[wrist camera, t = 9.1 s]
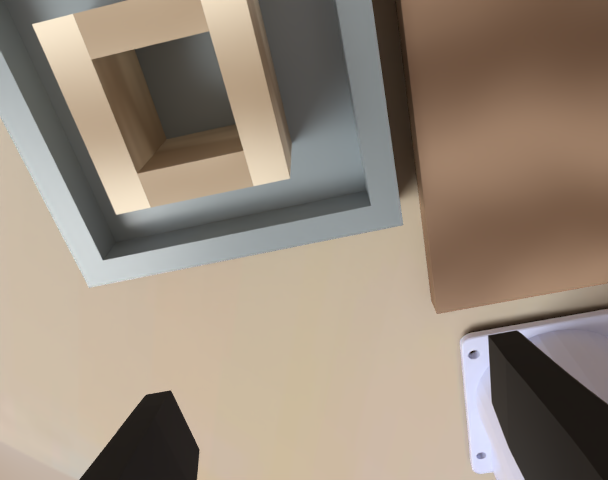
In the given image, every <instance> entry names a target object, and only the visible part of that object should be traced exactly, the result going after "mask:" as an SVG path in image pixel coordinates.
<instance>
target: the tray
mask: <svg viewBox="0 0 608 480" xmlns="http://www.w3.org/2000/svg"><path fill="white" fill-rule="evenodd" d="M122 1H126V0H0V117H1V119H2V121H3V123H4V125H5V127H6V129H7V131H8V133H9V135H10V136H11V138H12V140H13V142H14V144H15V146H16V148H17V150H18V152H19V154H20V156H21V158H22V160H23V161H24V163H25V165H26V167H27V169H28V171H29V173H30V175H31V177H32V179H33V181H34V183H35V185H36V186H37V188H38V190H39V192H40V194H41V196H42V198H43V200H44V202H45V204H46V206H47V208H48V210H49V211H50V213H51V215H52V217H53V219H54V221H55V223H56V225H57V227H58V229H59V231H60V233H61V235H62V237H63V238H64V240H65V242H66V244H67V246H68V248H69V250H70V252H71V254H72V256H73V258H74V260H75V262H76V263H77V265H78V267H79V269H80V271H81V273H82V275H83V277H84V279H85V281H86V283H87V285H88V287H89V288H90V287H95V286H100V285H105V284H110V283H115V282H120V281H125V280H130V279H135V278H140V277H145V276H150V275H155V274H160V273H165V272H170V271H175V270H180V269H186V268H191V267H196V266H201V265H206V264H211V263H216V262H221V261H226V260H231V259H236V258H241V257H246V256H251V255H256V254H261V253H266V252H271V251H276V250H281V249H286V248H291V247H296V246H301V245H306V244H311V243H316V242H321V241H326V240H331V239H336V238H341V237H346V236H351V235H356V234H361V233H366V232H371V231H376V230H381V229H386V228H391V227H396V226H401V225H403V220H402V213H401V206H400V199H399V191H398V184H397V177H396V170H395V163H394V156H393V149H392V142H391V134H390V127H389V120H388V113H387V106H386V99H385V92H384V85H383V77H382V70H381V63H380V56H379V49H378V42H377V35H376V28H375V20H374V13H373V6H372V0H258V1H259V5H260V10H261V14H262V18H263V22H264V27H265V31H266V35H267V40H268V44H269V48H270V52H271V57H272V61H273V65H274V69H275V74H276V78H277V82H278V86H279V91H280V95H281V99H282V103H283V108H284V112H285V116H286V120H287V125H288V129H289V133H290V137H291V142H292V152H291V171H290V179H286V180H281V181H276V182H272V183H267V184H262V185H257V186H252V187H248V188H243V189H238V190H233V191H228V192H224V193H219V194H214V195H209V196H204V197H200V198H195V199H190V200H185V201H180V202H175V203H171V204H166V205H161V206H156V207H151V208H147V209H142V210H137V211H132V212H127V213H123V214H118V215H116V213H115V211H114V208H113V206H112V204H111V202H110V199H109V197H108V195H107V193H106V190H105V188H104V186H103V184H102V181H101V179H100V177H99V175H98V172H97V170H96V168H95V166H94V163H93V161H92V159H91V157H90V154H89V152H88V150H87V147H86V145H85V143H84V141H83V138H82V136H81V134H80V132H79V129H78V127H77V125H76V123H75V120H74V118H73V116H72V114H71V111H70V109H69V107H68V105H67V102H66V100H65V98H64V96H63V93H62V91H61V89H60V87H59V84H58V82H57V80H56V78H55V75H54V73H53V71H52V68H51V66H50V64H49V62H48V59H47V57H46V55H45V53H44V50H43V48H42V46H41V44H40V41H39V39H38V37H37V35H36V32H35V30H34V28H33V26H32V24H35V23H39V22H43V21H47V20H51V19H55V18H59V17H63V16H67V15H71V14H75V13H79V12H83V11H87V10H91V9H94V8H98V7H102V6H106V5H110V4H114V3H118V2H122ZM134 50H135V53H136V55H137V58H138V61H139V64H140V66H141V69H142V72H143V75H144V78H145V80H146V83H147V86H148V89H149V92H150V94H151V97H152V100H153V103H154V105H155V108H156V111H157V114H158V117H159V119H160V122H161V125H162V128H163V131H164V133H165V136H166V139H170V138H175V137H180V136H184V135H189V134H193V133H198V132H202V131H207V130H211V129H216V128H220V127H225V126H229V125H234V124H236V123H235V119H234V116H233V112H232V109H231V105H230V102H229V98H228V95H227V91H226V88H225V84H224V81H223V77H222V74H221V70H220V67H219V63H218V60H217V56H216V53H215V49H214V45H213V42H212V38H211V35H210V31H208V32H204V33H200V34H195V35H191V36H187V37H183V38H179V39H175V40H171V41H167V42H162V43H158V44H154V45H150V46H146V47H142V48H138V49H134Z"/></svg>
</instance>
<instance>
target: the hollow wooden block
mask: <svg viewBox="0 0 608 480" xmlns="http://www.w3.org/2000/svg"><path fill="white" fill-rule="evenodd" d="M32 26H33V28H34V30H35V32H36V35H37V37H38V39H39V41H40V44H41V46H42V48H43V50H44V53H45V55H46V57H47V59H48V62H49V64H50V66H51V68H52V71H53V73H54V75H55V78H56V80H57V82H58V84H59V87H60V89H61V91H62V93H63V96H64V98H65V100H66V102H67V105H68V107H69V109H70V111H71V114H72V116H73V118H74V120H75V123H76V125H77V127H78V129H79V132H80V134H81V136H82V138H83V141H84V143H85V145H86V147H87V150H88V152H89V154H90V157H91V159H92V161H93V163H94V166H95V168H96V170H97V172H98V175H99V177H100V179H101V181H102V184H103V186H104V188H105V190H106V193H107V195H108V197H109V199H110V202H111V204H112V206H113V208H114V211H115V213H116V215H118V214H123V213H127V212H132V211H137V210H142V209H147V208H151V207H156V206H161V205H166V204H171V203H175V202H180V201H185V200H190V199H195V198H200V197H204V196H209V195H214V194H219V193H224V192H228V191H233V190H238V189H243V188H248V187H252V186H257V185H262V184H267V183H272V182H276V181H281V180H286V179H290V171H291V152H292V142H291V137H290V133H289V129H288V125H287V120H286V116H285V112H284V108H283V103H282V99H281V95H280V91H279V86H278V82H277V78H276V74H275V69H274V65H273V61H272V57H271V52H270V48H269V44H268V40H267V35H266V31H265V27H264V22H263V18H262V14H261V10H260V5H259V1H258V0H126V1H122V2H118V3H114V4H110V5H106V6H102V7H98V8H94V9H91V10H87V11H83V12H79V13H75V14H71V15H67V16H63V17H59V18H55V19H51V20H47V21H43V22H39V23H35V24H32ZM208 31H210V35H211V38H212V42H213V45H214V49H215V53H216V56H217V60H218V63H219V67H220V70H221V74H222V77H223V81H224V84H225V88H226V91H227V95H228V98H229V102H230V105H231V109H232V112H233V116H234V119H235V123H236V124H234V125H229V126H225V127H220V128H216V129H211V130H207V131H202V132H198V133H193V134H189V135H184V136H180V137H175V138H170V139H166V136H165V133H164V131H163V128H162V125H161V122H160V119H159V117H158V114H157V111H156V108H155V105H154V103H153V100H152V97H151V94H150V92H149V89H148V86H147V83H146V80H145V78H144V75H143V72H142V69H141V66H140V64H139V61H138V58H137V55H136V53H135V50H134V49H138V48H142V47H146V46H150V45H154V44H158V43H162V42H167V41H171V40H175V39H179V38H183V37H187V36H191V35H195V34H200V33H204V32H208Z"/></svg>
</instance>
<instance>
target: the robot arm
mask: <svg viewBox="0 0 608 480" xmlns="http://www.w3.org/2000/svg"><path fill="white" fill-rule="evenodd" d="M473 350H476V351H475V352H474V353H470V352H471V351H473ZM460 351H461V362H462V373H463V384H464V395H465V406H466V417H467V428H468V439H469V451H470V462H471V466H472V469H473V471H474V472H476V473H479V474H483V473H490V472H494V475H495V477H496V480H608V309H604V310H598V311H592V312H587V313H581V314H575V315H570V316H564V317H558V318H552V319H547V320H541V321H535V322H530V323H524V324H518V325H512V326H507V327H501V328H495V329H490V330H484V331H478V332H472V333H468V334H466V335H464V336H463V337H462V338H461V340H460ZM198 460H199V448H198V446H197V444H196V441H195V439H194V437H193V435H192V433H191V431H190V429H189V427H188V425H187V423H186V421H185V419H184V417H183V414H182V412H181V410H180V408H179V406H178V404H177V402H176V400H175V398H174V396H173V394H172V392H171V391H165V392H159V393H154V394H148V395H146V396H145V397H144V398H143V399H142V400H141V402H140V403H139V404H138V405H137V407H136V408H135V409H134V410H133V412H132V413H131V414H130V416H129V417H128V418H127V419H126V421H125V422H124V423H123V425H122V426H121V427H120V429H119V430H118V431H117V433H116V434H115V435H114V436H113V438H112V439H111V440H110V442H109V443H108V444H107V445H106V447H105V448H104V449H103V451H102V452H101V453H100V454H99V456H98V457H97V458H96V459H95V461H94V462H93V463H92V465H91V466H90V467H89V468H88V470H87V471H86V472H85V473H84V475H83V476H82V477H81V478H80V480H197V472H198Z"/></svg>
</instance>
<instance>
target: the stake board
mask: <svg viewBox="0 0 608 480" xmlns="http://www.w3.org/2000/svg"><path fill="white" fill-rule="evenodd" d="M396 9H397V17H398V25H399V34H400V42H401V51H402V59H403V67H404V76H405V84H406V92H407V101H408V109H409V117H410V126H411V134H412V143H413V151H414V159H415V168H416V176H417V184H418V193H419V201H420V210H421V218H422V226H423V235H424V243H425V251H426V260H427V268H428V277H429V285H430V293H431V301H432V303H433V305H434V308H435V310H436V313H437V314H439V313H445V312H450V311H456V310H462V309H467V308H473V307H478V306H484V305H489V304H495V303H500V302H506V301H512V300H517V299H523V298H528V297H534V296H539V295H545V294H550V293H556V292H562V291H567V290H573V289H578V288H584V287H589V286H595V285H600V284H606V283H608V0H396Z"/></svg>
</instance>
